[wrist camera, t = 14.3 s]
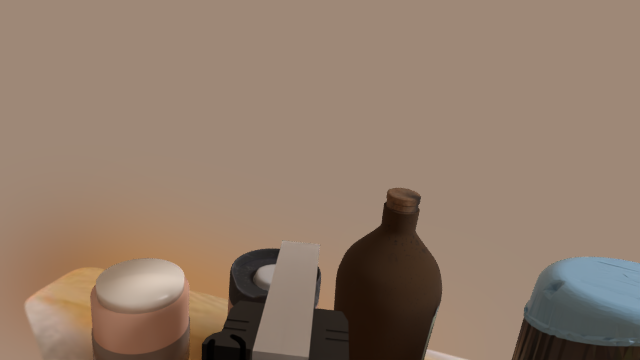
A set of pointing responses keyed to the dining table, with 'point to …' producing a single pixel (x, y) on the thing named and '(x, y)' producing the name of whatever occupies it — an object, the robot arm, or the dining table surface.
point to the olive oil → (390, 286)
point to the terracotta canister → (141, 312)
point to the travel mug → (256, 277)
